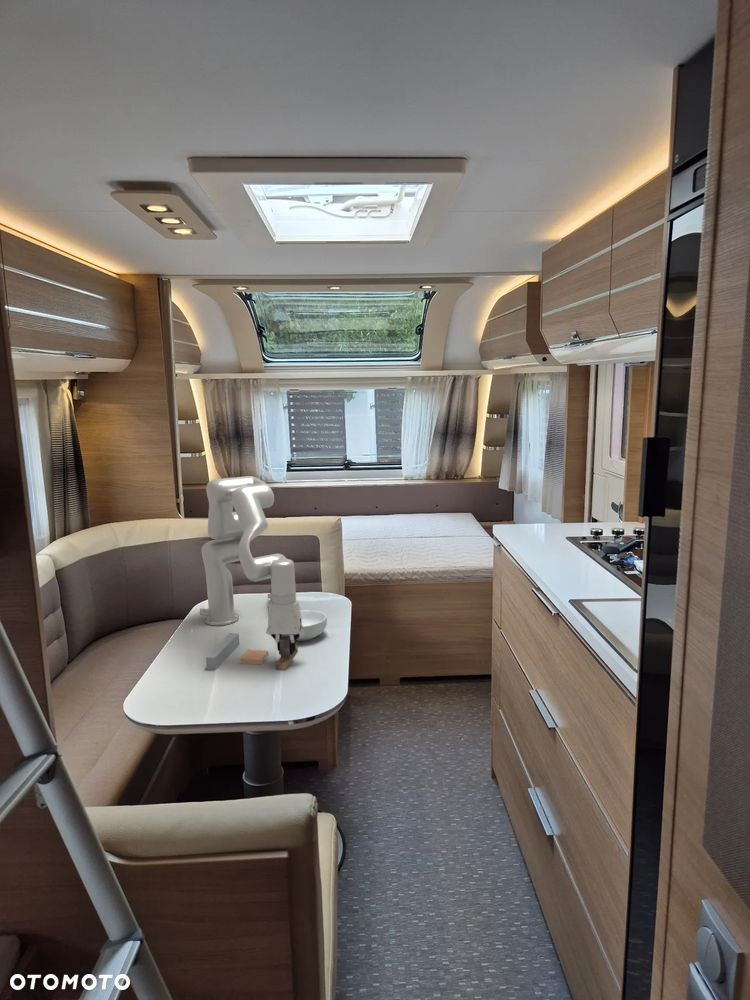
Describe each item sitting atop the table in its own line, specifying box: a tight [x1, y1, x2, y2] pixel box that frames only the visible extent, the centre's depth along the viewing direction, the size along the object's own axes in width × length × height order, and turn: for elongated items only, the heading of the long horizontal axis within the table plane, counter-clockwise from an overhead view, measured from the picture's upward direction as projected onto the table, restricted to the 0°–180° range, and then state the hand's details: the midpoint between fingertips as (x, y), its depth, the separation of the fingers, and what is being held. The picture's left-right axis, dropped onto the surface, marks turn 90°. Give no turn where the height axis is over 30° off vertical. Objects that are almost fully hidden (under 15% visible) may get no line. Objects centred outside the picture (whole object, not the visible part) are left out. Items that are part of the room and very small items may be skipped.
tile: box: [239, 649, 269, 665], centre depth 196 cm, size 7×7×2 cm
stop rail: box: [205, 632, 240, 671], centre depth 198 cm, size 3×20×4 cm, turn 171°
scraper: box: [275, 635, 299, 671], centre depth 194 cm, size 3×14×8 cm, turn 171°
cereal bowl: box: [296, 609, 328, 642], centre depth 213 cm, size 17×17×7 cm
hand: (286, 652), depth 194 cm, fingers closed on scraper, 3 cm apart
